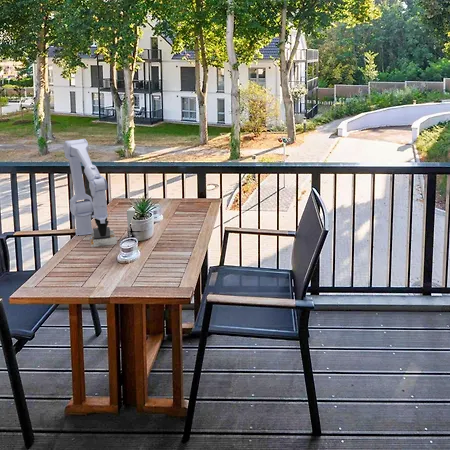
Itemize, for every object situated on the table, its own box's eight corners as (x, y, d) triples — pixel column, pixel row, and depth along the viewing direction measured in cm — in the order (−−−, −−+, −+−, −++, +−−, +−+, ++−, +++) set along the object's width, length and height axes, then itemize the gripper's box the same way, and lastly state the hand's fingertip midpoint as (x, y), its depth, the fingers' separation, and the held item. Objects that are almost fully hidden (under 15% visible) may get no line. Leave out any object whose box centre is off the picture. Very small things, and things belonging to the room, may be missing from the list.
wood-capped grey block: (94, 239, 286) (93, 228, 284) (110, 237, 288) (108, 226, 286) (94, 241, 283) (93, 230, 282) (110, 239, 285) (109, 228, 283)
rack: (89, 238, 293) (88, 232, 292) (113, 236, 296) (113, 229, 295) (91, 247, 281) (91, 240, 280) (116, 244, 284) (116, 237, 283)
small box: (139, 232, 301) (137, 210, 298) (128, 232, 302) (126, 210, 299) (144, 227, 308) (143, 206, 305) (133, 227, 309) (132, 206, 306)
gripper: (89, 202, 287) (92, 231, 291) (92, 210, 273) (95, 240, 277) (105, 201, 289) (108, 229, 292) (108, 208, 275) (111, 238, 279)
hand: (102, 235), depth 285 cm, fingers closed on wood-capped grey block, 3 cm apart
